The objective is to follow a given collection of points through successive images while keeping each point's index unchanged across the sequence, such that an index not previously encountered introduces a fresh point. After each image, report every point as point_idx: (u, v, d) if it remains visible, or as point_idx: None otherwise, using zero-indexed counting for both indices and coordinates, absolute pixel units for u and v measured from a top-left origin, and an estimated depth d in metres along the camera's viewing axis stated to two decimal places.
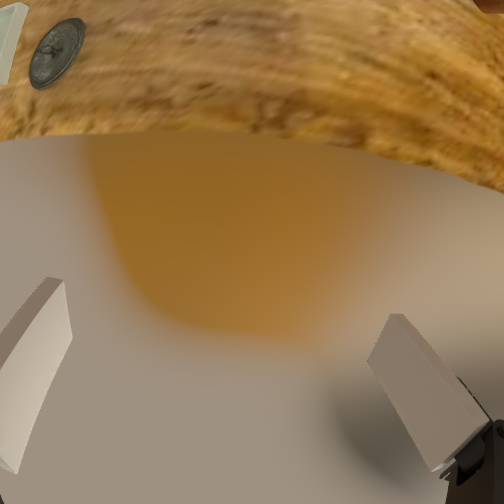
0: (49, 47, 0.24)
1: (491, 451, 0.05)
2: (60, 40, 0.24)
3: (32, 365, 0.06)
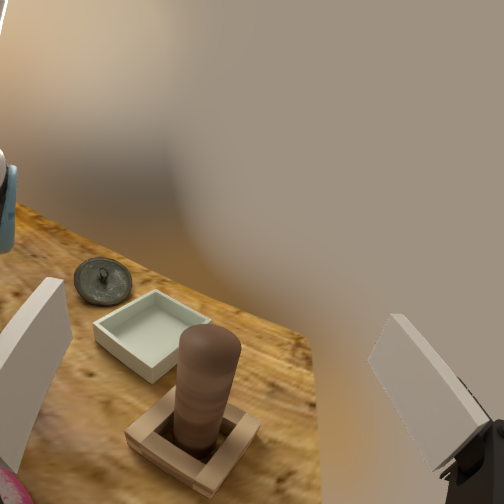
0: (105, 292, 0.44)
1: (491, 451, 0.05)
2: (94, 286, 0.44)
3: (32, 365, 0.06)
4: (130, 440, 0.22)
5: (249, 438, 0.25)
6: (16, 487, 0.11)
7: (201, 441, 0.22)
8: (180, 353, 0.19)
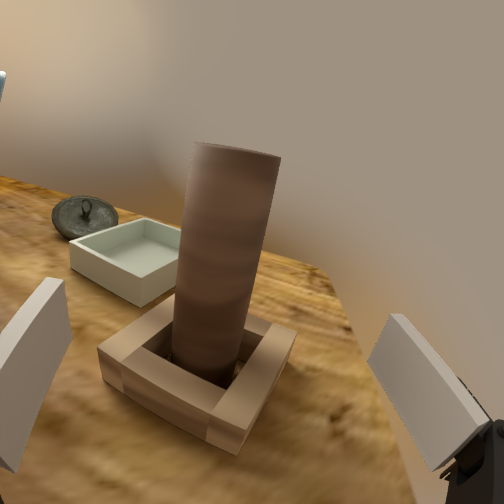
0: (86, 228, 0.37)
1: (491, 451, 0.05)
2: (75, 222, 0.36)
3: (32, 365, 0.06)
4: (106, 366, 0.16)
5: (285, 352, 0.19)
6: None
7: (217, 350, 0.16)
8: (195, 155, 0.13)
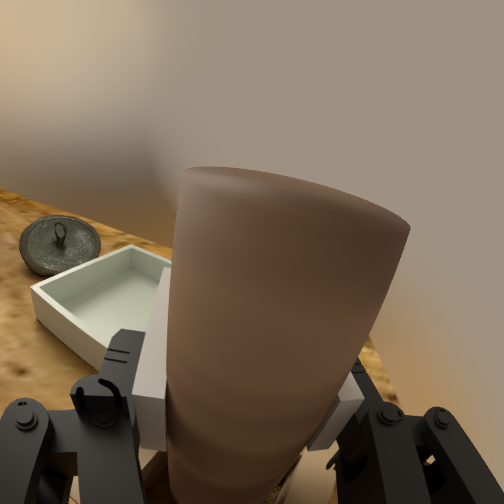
0: (61, 259, 0.28)
1: (373, 448, 0.05)
2: (47, 251, 0.27)
3: None
4: None
5: (333, 479, 0.10)
6: None
7: None
8: (186, 217, 0.04)
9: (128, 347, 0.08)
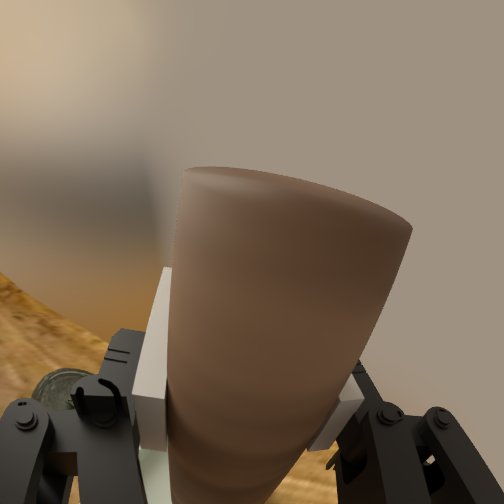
0: None
1: (373, 448, 0.05)
2: None
3: None
4: None
5: None
6: None
7: None
8: (187, 217, 0.04)
9: (128, 347, 0.08)
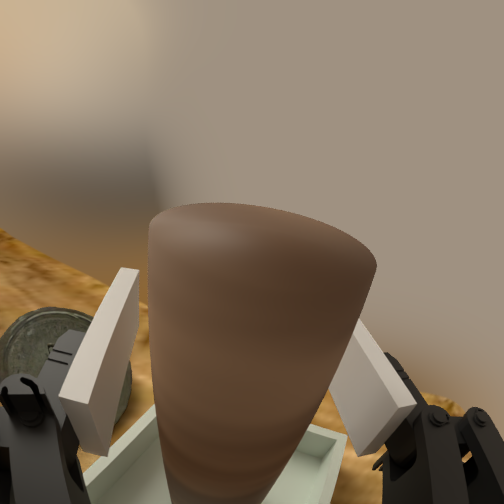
0: None
1: (423, 445, 0.05)
2: None
3: (121, 348, 0.08)
4: None
5: None
6: None
7: None
8: (152, 271, 0.05)
9: (72, 349, 0.07)
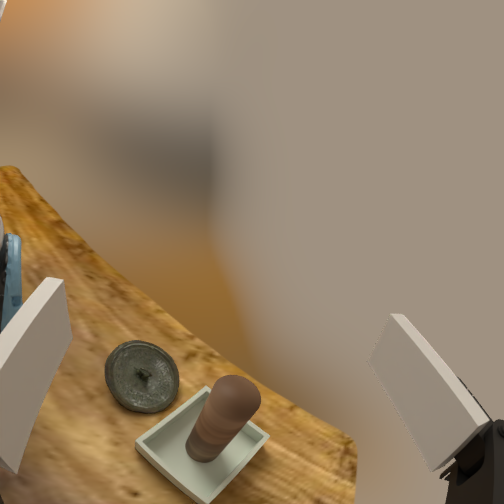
0: (145, 393, 0.34)
1: (491, 451, 0.05)
2: (132, 384, 0.34)
3: (32, 365, 0.06)
4: None
5: None
6: None
7: (211, 453, 0.27)
8: (211, 400, 0.23)
9: None
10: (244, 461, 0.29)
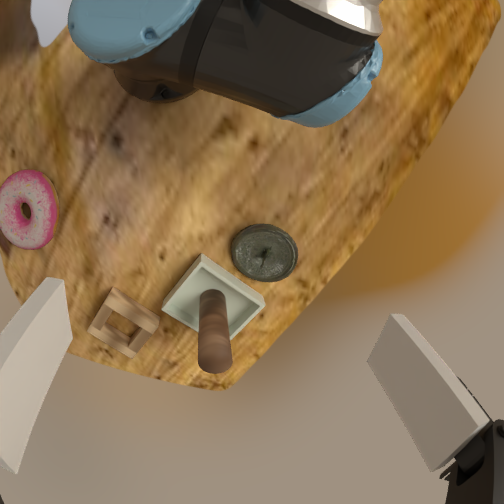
0: (250, 257, 0.47)
1: (491, 451, 0.05)
2: (254, 246, 0.46)
3: (32, 365, 0.06)
4: (108, 294, 0.45)
5: (119, 351, 0.49)
6: (44, 240, 0.38)
7: None
8: (209, 347, 0.35)
9: None
10: None
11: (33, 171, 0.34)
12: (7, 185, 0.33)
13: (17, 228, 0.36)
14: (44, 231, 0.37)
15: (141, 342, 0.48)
